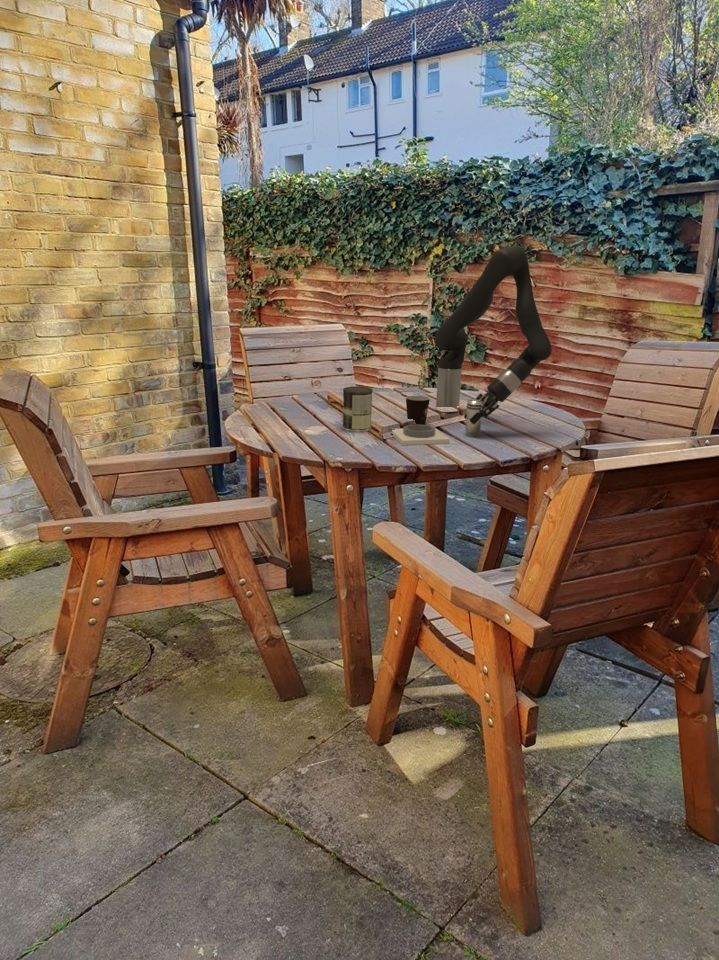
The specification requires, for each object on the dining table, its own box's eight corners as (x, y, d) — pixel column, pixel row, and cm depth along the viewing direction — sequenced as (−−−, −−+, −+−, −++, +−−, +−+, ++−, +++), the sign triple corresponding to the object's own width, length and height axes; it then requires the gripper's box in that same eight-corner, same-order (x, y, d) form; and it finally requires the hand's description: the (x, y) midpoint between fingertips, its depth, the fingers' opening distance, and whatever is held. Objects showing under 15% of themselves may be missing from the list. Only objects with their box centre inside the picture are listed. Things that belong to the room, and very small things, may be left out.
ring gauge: (390, 433, 234) (390, 423, 233) (434, 431, 237) (434, 421, 236) (402, 445, 219) (402, 434, 218) (449, 443, 223) (449, 433, 221)
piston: (462, 433, 236) (465, 399, 232) (476, 432, 237) (479, 399, 233) (468, 437, 231) (470, 402, 228) (482, 436, 232) (485, 402, 229)
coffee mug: (416, 429, 240) (417, 401, 237) (399, 424, 247) (400, 397, 244) (439, 424, 248) (440, 397, 244) (422, 420, 254) (423, 393, 251)
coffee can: (337, 430, 237) (338, 390, 232) (349, 423, 246) (349, 385, 241) (365, 433, 233) (366, 392, 229) (375, 426, 242) (376, 387, 238)
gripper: (489, 374, 236) (454, 408, 238) (506, 381, 223) (469, 418, 224) (502, 388, 239) (467, 423, 240) (519, 396, 226) (483, 433, 227)
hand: (468, 420), depth 232 cm, fingers closed on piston, 5 cm apart
